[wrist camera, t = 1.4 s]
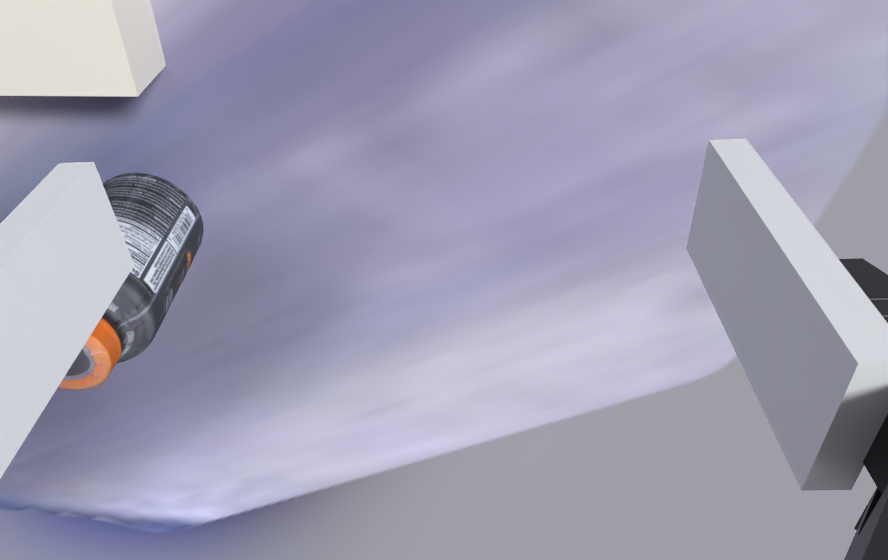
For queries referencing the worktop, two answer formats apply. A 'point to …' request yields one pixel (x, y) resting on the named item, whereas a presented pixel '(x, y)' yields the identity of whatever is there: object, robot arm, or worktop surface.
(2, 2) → the cream block
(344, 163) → the worktop surface
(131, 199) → the pill bottle
